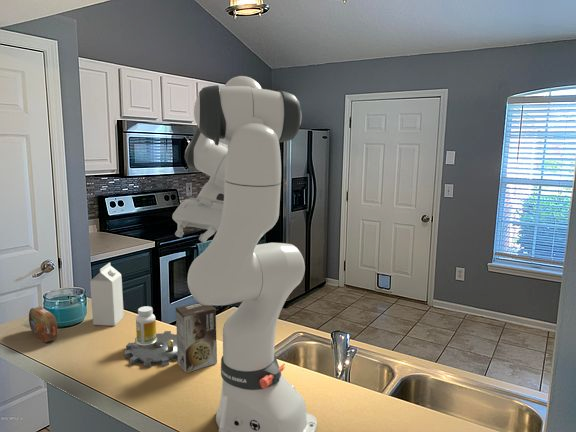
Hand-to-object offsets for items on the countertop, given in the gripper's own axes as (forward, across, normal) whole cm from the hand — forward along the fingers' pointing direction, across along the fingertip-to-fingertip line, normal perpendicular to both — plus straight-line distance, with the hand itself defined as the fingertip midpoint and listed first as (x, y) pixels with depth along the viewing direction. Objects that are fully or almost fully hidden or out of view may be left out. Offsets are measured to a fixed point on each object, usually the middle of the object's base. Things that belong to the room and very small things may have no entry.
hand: (189, 238), depth 125 cm
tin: (+39, -38, +6) cm, 55 cm away
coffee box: (+29, +11, +16) cm, 35 cm away
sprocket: (+30, -3, +15) cm, 33 cm away
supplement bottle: (+28, -8, +14) cm, 33 cm away
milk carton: (+27, -31, +18) cm, 45 cm away
